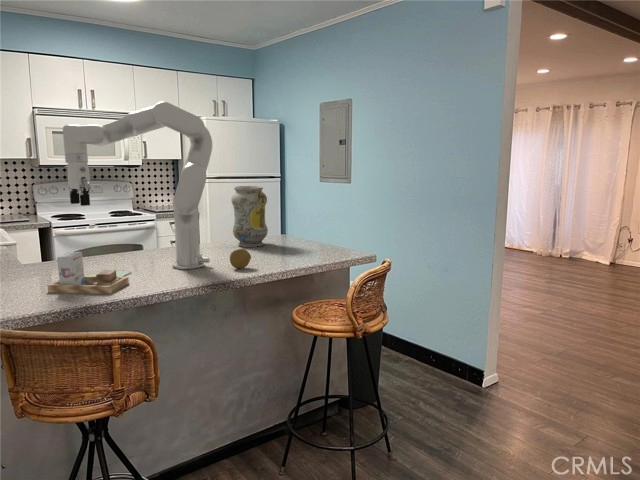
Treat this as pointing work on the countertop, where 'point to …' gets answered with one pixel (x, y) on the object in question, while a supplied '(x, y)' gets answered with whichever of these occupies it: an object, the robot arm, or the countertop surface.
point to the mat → (117, 273)
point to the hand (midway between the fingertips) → (80, 204)
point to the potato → (240, 258)
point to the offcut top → (106, 276)
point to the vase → (249, 215)
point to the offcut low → (106, 283)
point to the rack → (88, 286)
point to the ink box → (71, 268)
